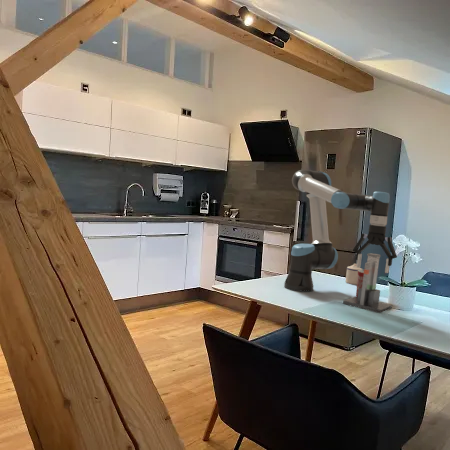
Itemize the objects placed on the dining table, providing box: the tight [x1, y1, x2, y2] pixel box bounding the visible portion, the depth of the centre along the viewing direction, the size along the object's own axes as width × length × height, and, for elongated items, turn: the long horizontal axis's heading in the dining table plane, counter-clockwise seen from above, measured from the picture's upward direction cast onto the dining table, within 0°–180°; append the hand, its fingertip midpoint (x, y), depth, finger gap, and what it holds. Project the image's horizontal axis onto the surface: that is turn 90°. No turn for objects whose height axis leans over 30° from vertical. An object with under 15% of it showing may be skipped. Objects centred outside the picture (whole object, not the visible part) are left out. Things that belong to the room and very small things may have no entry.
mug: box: [355, 269, 364, 297], centre depth 236 cm, size 13×9×14 cm
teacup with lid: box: [345, 263, 363, 286], centre depth 273 cm, size 12×9×12 cm
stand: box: [342, 262, 393, 314], centre depth 215 cm, size 18×15×21 cm
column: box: [366, 252, 382, 291], centre depth 215 cm, size 5×5×23 cm
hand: (372, 270), depth 215 cm, fingers open, 13 cm apart
